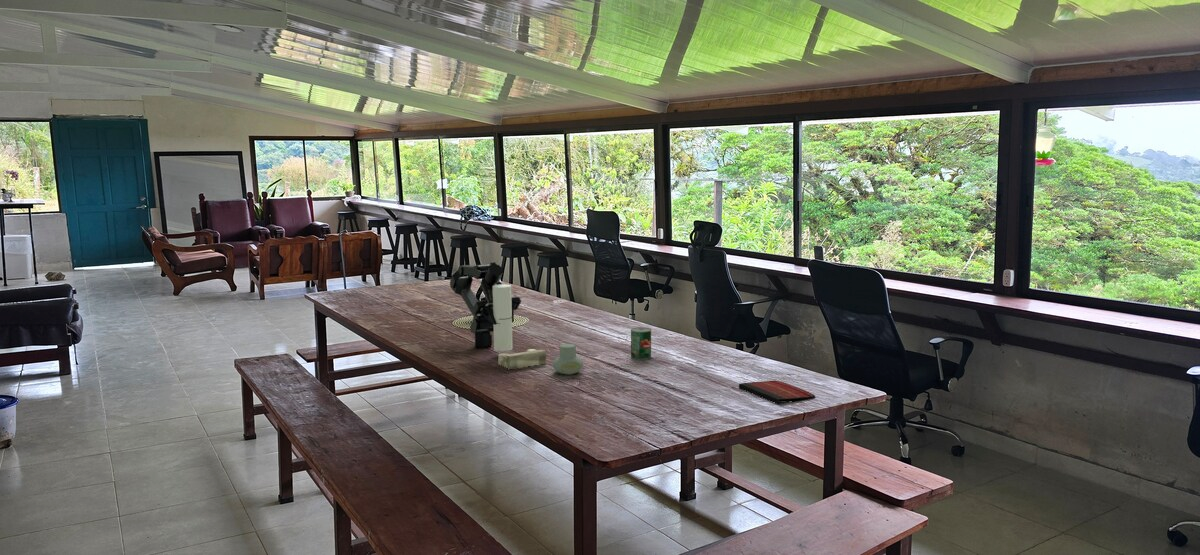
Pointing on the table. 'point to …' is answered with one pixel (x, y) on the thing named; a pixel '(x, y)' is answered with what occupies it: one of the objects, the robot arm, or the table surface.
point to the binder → (776, 391)
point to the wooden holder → (522, 359)
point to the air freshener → (567, 360)
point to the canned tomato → (640, 343)
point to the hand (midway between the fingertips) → (504, 323)
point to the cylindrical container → (502, 317)
